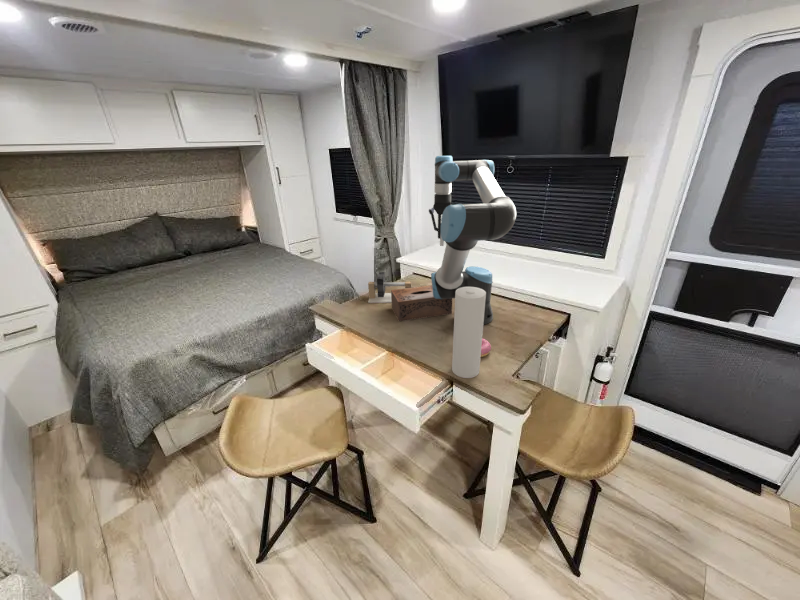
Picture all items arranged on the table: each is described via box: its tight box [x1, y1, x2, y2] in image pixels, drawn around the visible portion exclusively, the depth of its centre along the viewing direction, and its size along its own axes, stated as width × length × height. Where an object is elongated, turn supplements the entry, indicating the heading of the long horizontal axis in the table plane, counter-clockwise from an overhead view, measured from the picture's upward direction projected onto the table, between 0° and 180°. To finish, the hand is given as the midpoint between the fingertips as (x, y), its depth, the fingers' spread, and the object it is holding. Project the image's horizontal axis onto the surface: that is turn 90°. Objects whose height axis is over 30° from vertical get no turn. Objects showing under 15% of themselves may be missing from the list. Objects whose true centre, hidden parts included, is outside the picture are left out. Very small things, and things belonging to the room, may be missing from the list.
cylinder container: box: [451, 287, 486, 379], centre depth 109 cm, size 9×9×30 cm
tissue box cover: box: [390, 284, 453, 322], centre depth 157 cm, size 26×14×10 cm, turn 104°
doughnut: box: [480, 337, 492, 358], centre depth 125 cm, size 11×11×4 cm
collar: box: [376, 271, 386, 297], centre depth 170 cm, size 10×3×10 cm, turn 177°
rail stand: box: [367, 281, 412, 304], centre depth 172 cm, size 11×22×9 cm, turn 87°
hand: (441, 245), depth 156 cm, fingers closed
